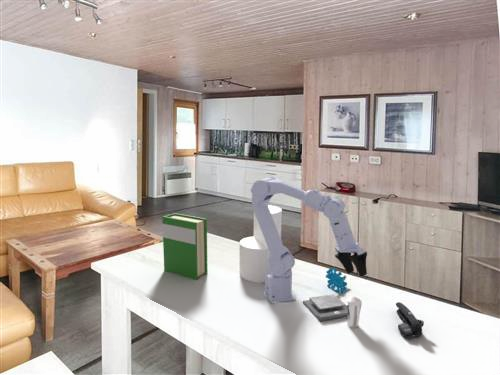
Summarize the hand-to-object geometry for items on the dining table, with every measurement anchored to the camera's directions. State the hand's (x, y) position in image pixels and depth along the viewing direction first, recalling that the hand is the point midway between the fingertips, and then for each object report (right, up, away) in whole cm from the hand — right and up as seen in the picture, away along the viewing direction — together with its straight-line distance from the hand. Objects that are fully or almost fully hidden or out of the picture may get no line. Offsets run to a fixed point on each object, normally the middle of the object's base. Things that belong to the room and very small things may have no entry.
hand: (357, 273), depth 116 cm
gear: (-1, -11, +22) cm, 24 cm away
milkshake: (-3, -16, -4) cm, 16 cm away
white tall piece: (-31, -9, +35) cm, 48 cm away
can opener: (+15, -16, -3) cm, 22 cm away
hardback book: (-62, -8, +36) cm, 72 cm away
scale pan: (-8, -12, +7) cm, 16 cm away
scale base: (-8, -14, +6) cm, 17 cm away
